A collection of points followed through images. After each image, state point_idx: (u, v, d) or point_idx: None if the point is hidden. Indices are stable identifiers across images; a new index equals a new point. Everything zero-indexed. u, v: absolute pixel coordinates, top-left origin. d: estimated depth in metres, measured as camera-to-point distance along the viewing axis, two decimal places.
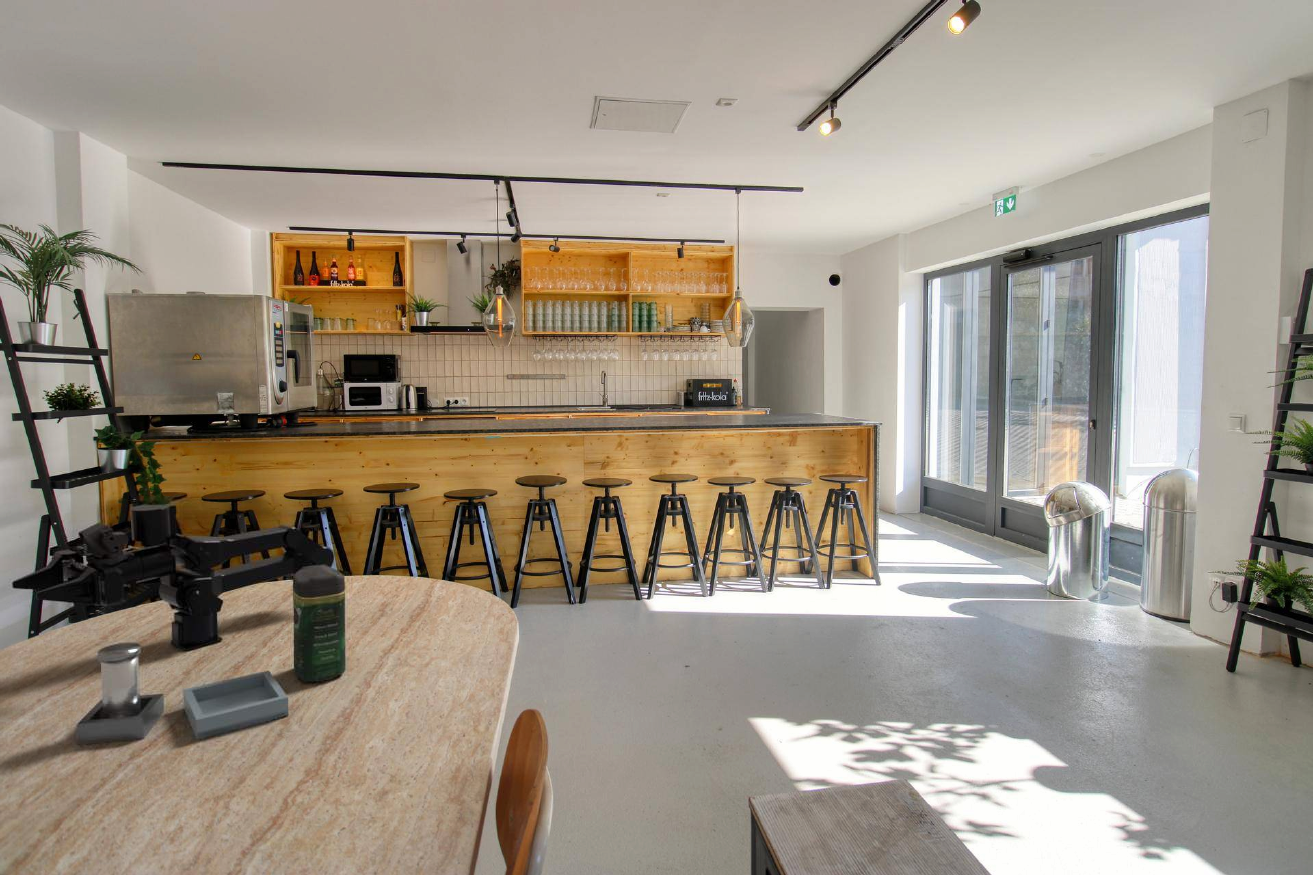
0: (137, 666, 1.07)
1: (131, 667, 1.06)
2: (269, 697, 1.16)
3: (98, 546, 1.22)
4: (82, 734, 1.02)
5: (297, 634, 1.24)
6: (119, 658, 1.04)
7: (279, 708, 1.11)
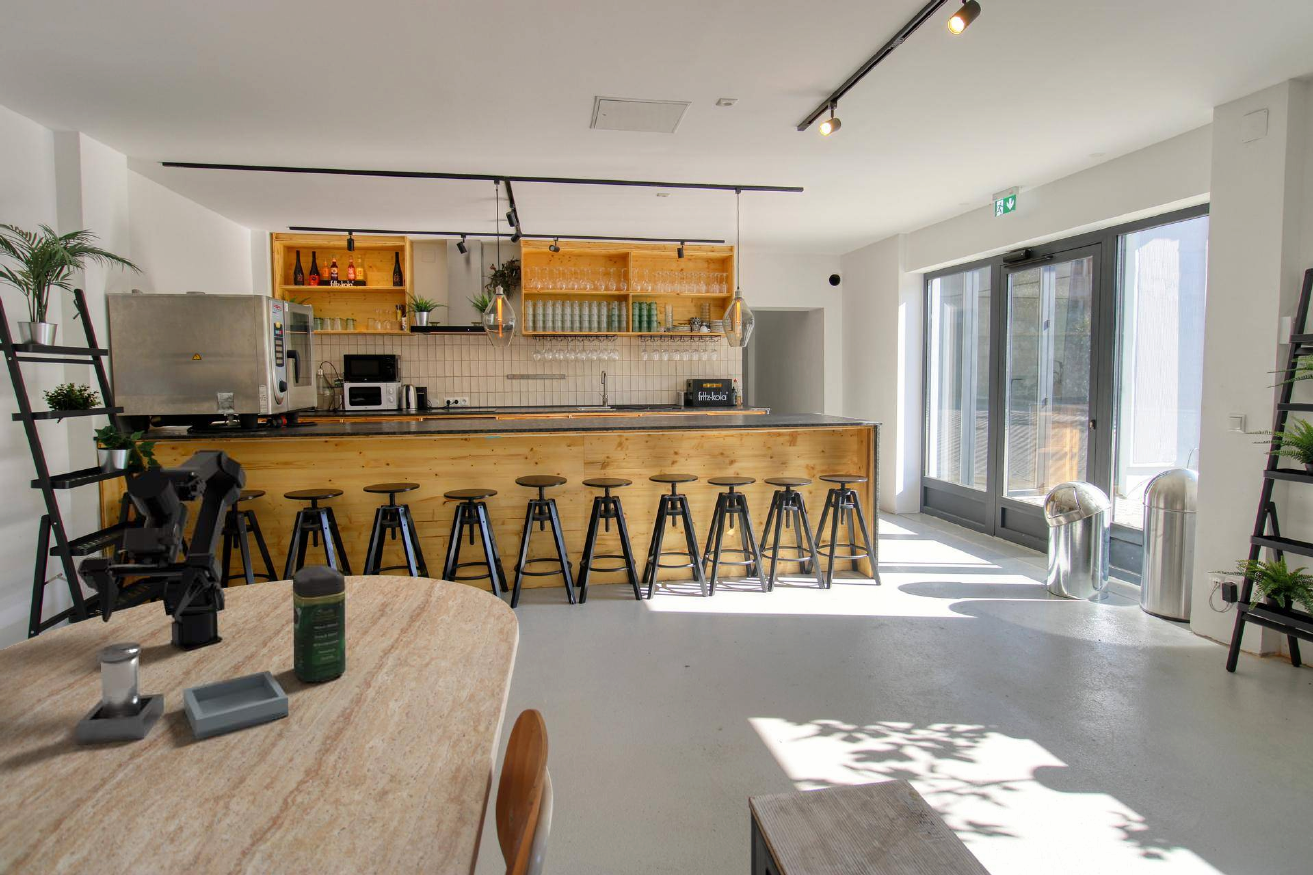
0: (137, 666, 1.07)
1: (131, 667, 1.06)
2: (269, 697, 1.16)
3: (161, 547, 1.16)
4: (82, 734, 1.02)
5: (297, 634, 1.24)
6: (119, 658, 1.04)
7: (279, 708, 1.11)
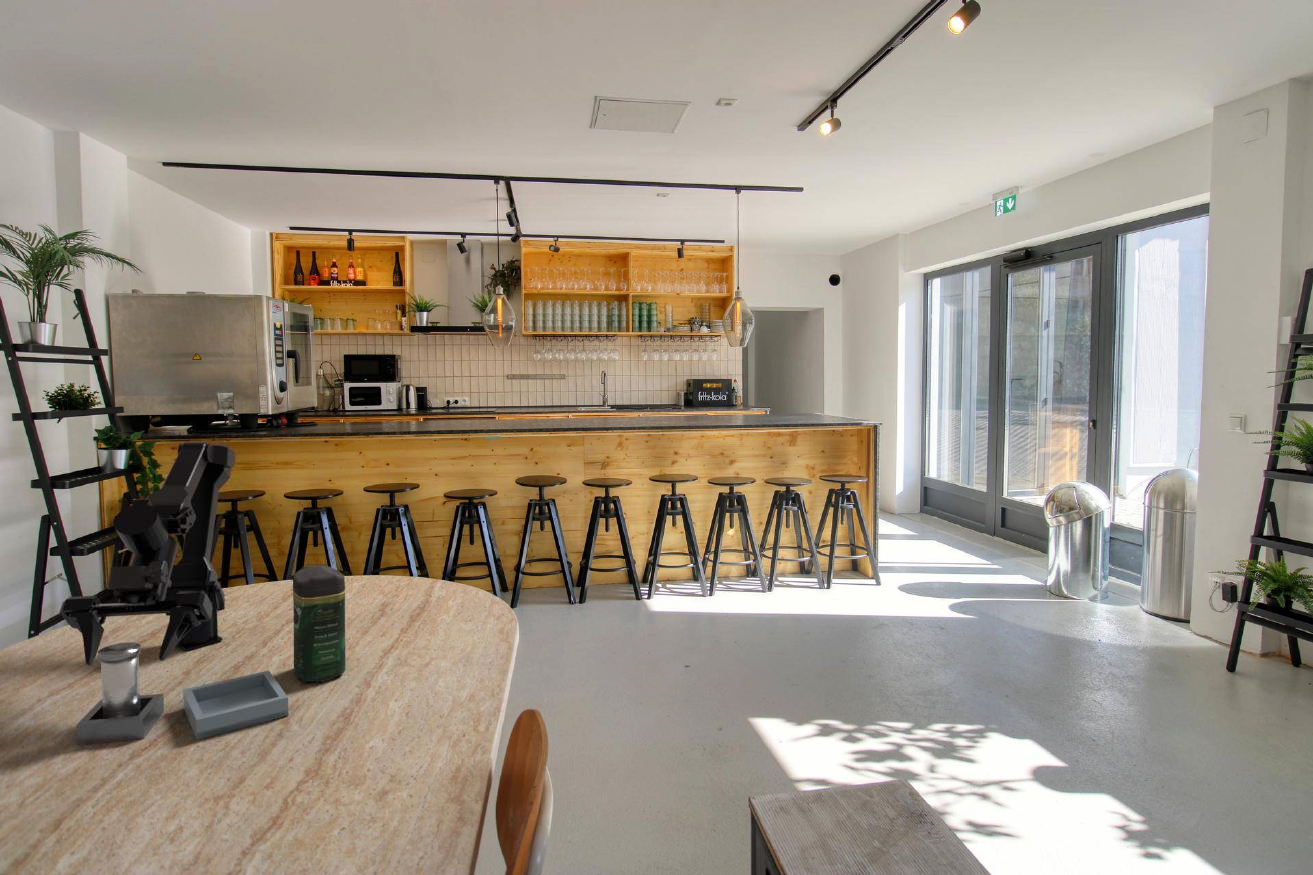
0: (137, 666, 1.07)
1: (131, 667, 1.06)
2: (269, 697, 1.16)
3: (148, 586, 1.10)
4: (82, 734, 1.02)
5: (297, 634, 1.24)
6: (119, 658, 1.04)
7: (279, 708, 1.11)
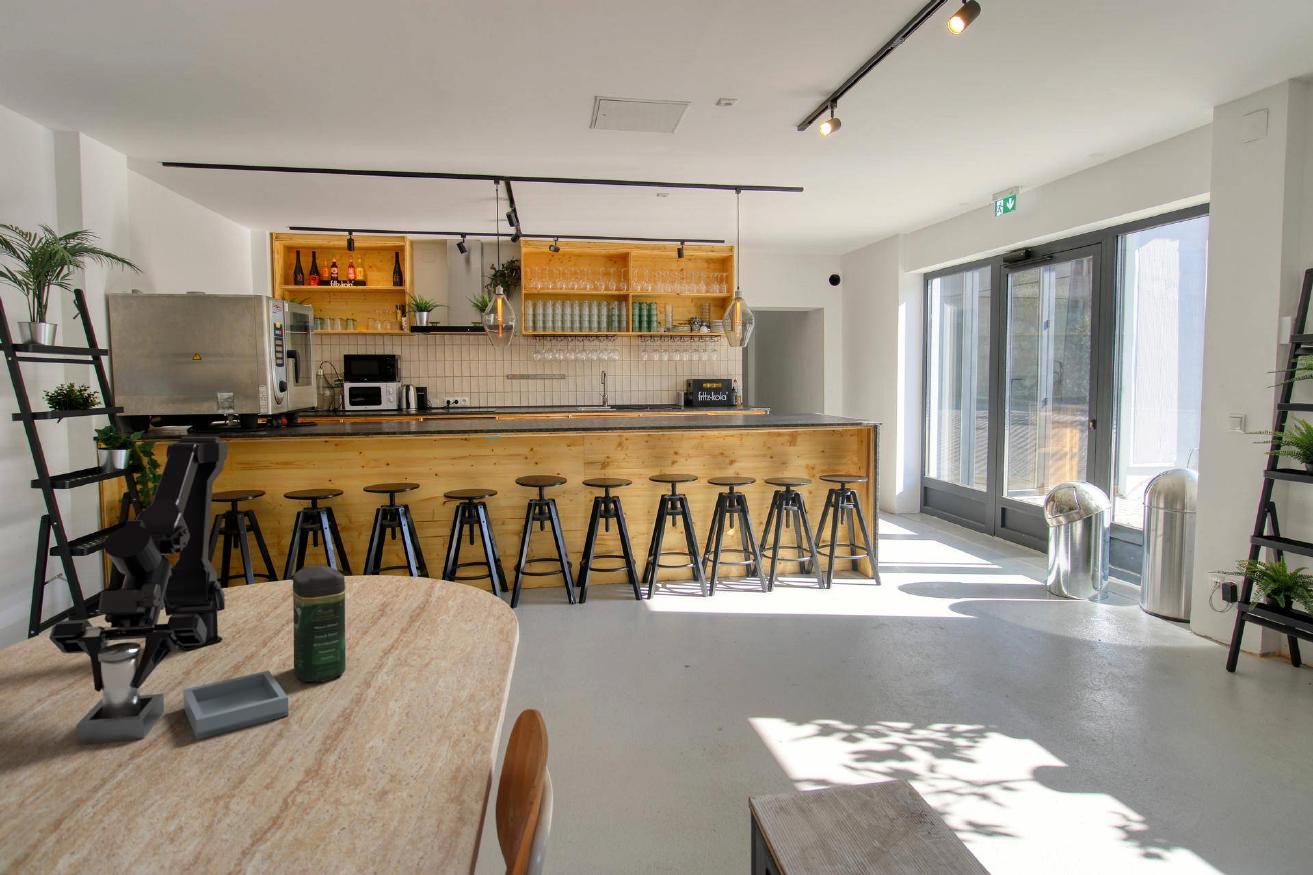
0: (137, 666, 1.07)
1: (131, 667, 1.06)
2: (269, 697, 1.16)
3: (141, 610, 1.07)
4: (82, 734, 1.02)
5: (297, 634, 1.24)
6: (119, 658, 1.04)
7: (279, 708, 1.11)
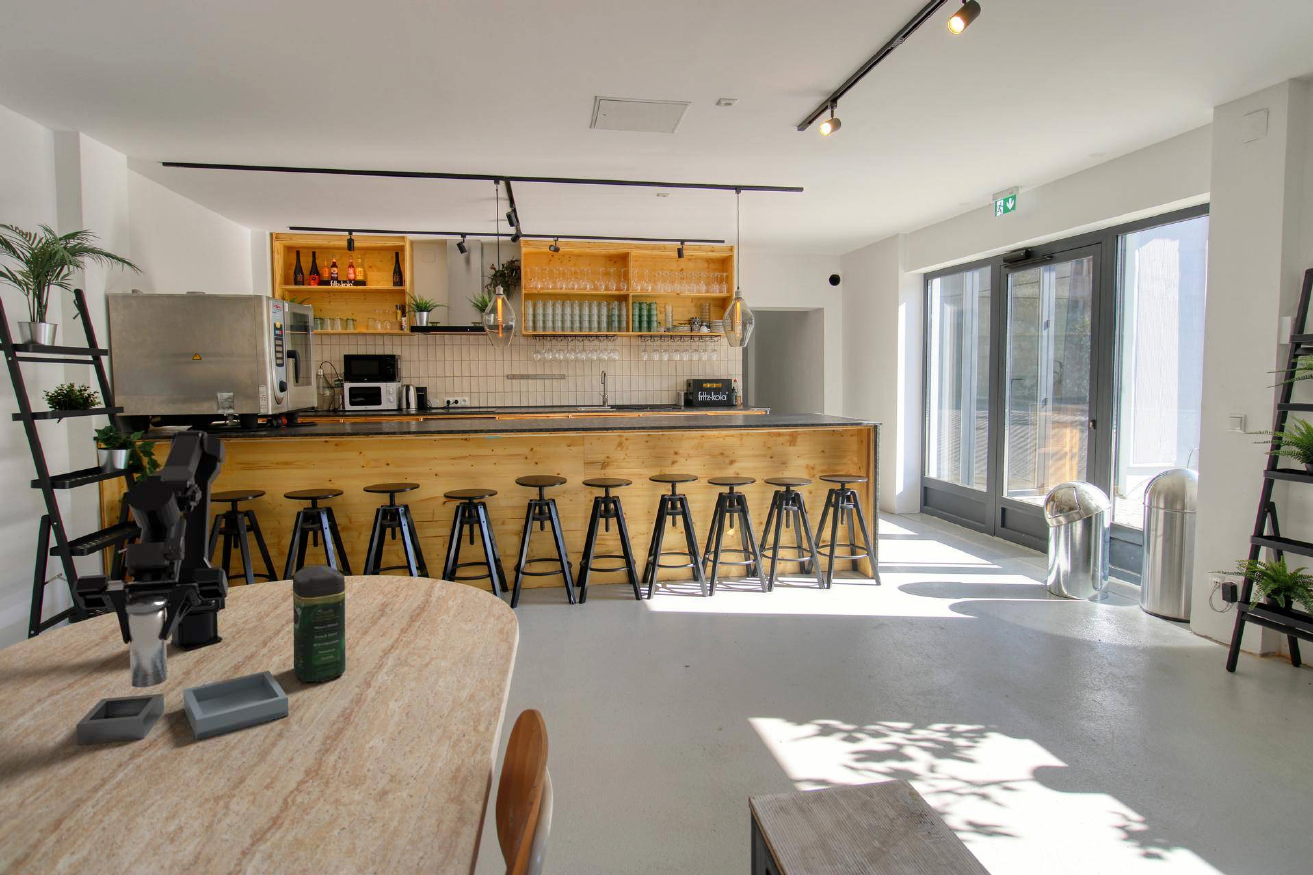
0: (164, 618, 1.07)
1: (159, 619, 1.06)
2: (269, 697, 1.16)
3: (167, 563, 1.08)
4: (82, 734, 1.02)
5: (297, 634, 1.24)
6: (149, 609, 1.04)
7: (279, 708, 1.11)
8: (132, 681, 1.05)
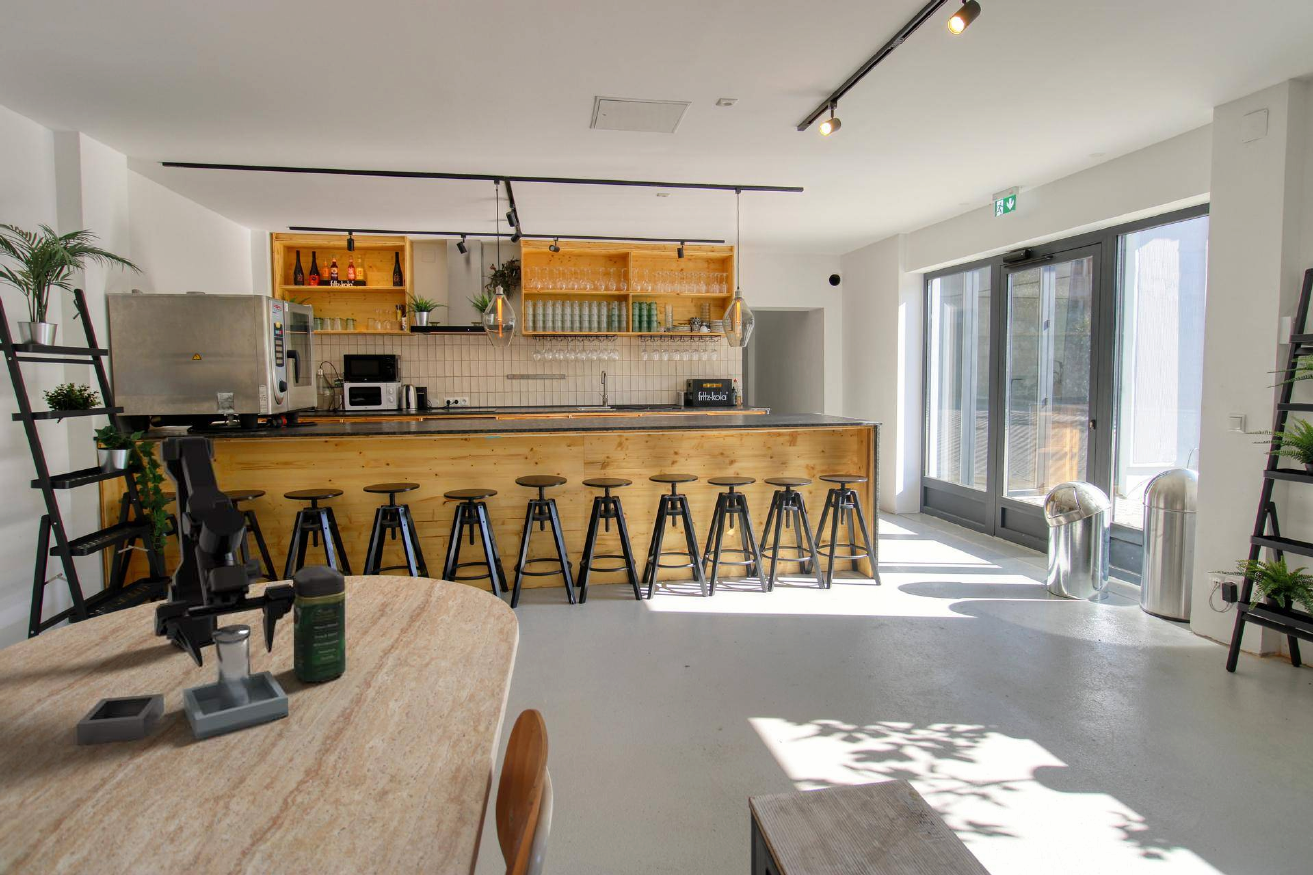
0: None
1: (247, 645, 1.12)
2: (269, 697, 1.16)
3: None
4: (82, 734, 1.02)
5: (297, 634, 1.24)
6: (241, 637, 1.10)
7: (279, 708, 1.11)
8: (223, 707, 1.11)
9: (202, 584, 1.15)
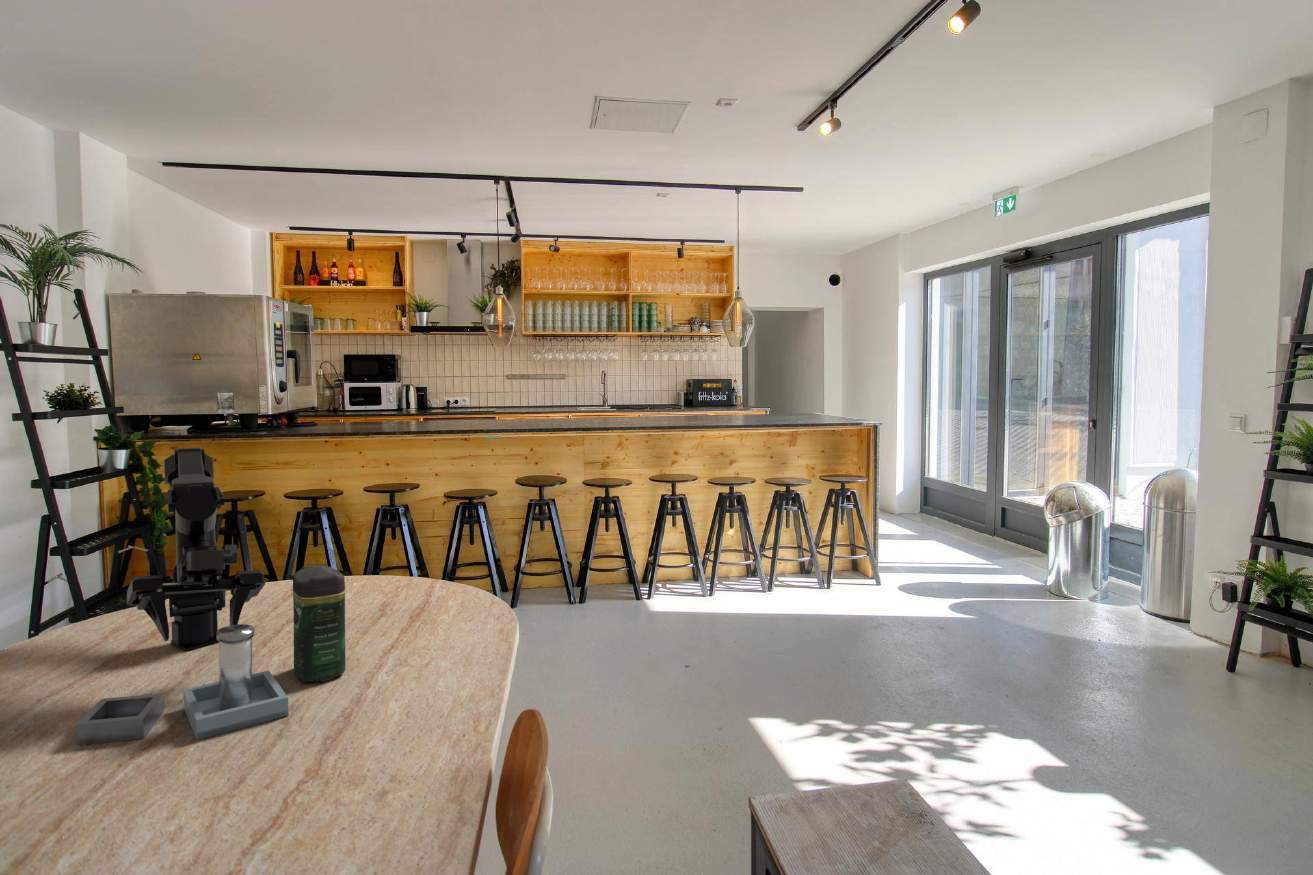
0: None
1: (250, 645, 1.12)
2: (269, 697, 1.16)
3: None
4: (82, 734, 1.02)
5: (297, 634, 1.24)
6: (245, 637, 1.11)
7: (279, 708, 1.11)
8: (224, 707, 1.11)
9: (178, 560, 1.21)
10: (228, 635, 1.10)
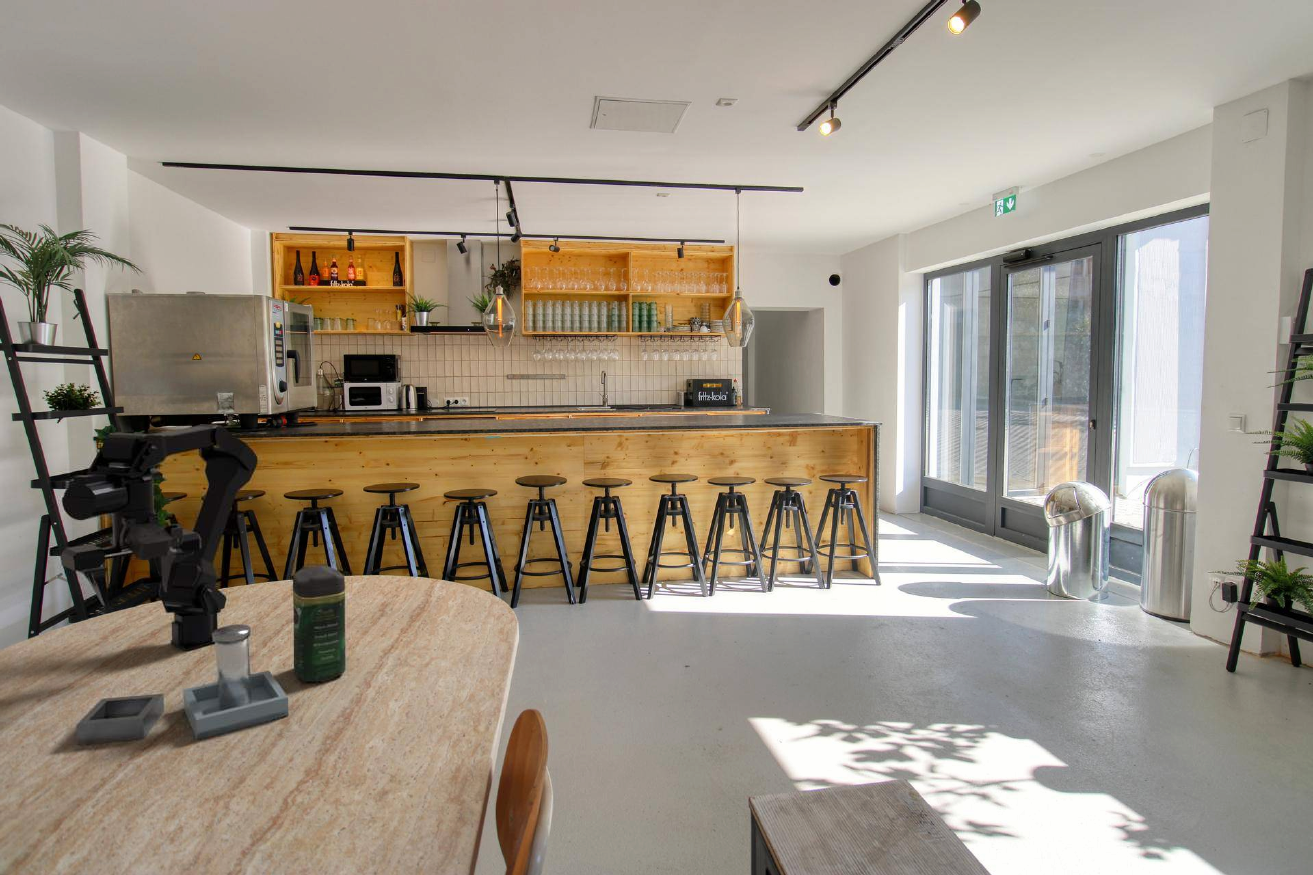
0: None
1: (247, 645, 1.12)
2: (269, 697, 1.16)
3: None
4: (82, 734, 1.02)
5: (297, 634, 1.24)
6: (241, 637, 1.10)
7: (279, 708, 1.11)
8: (224, 708, 1.11)
9: (115, 525, 1.20)
10: (224, 636, 1.09)
